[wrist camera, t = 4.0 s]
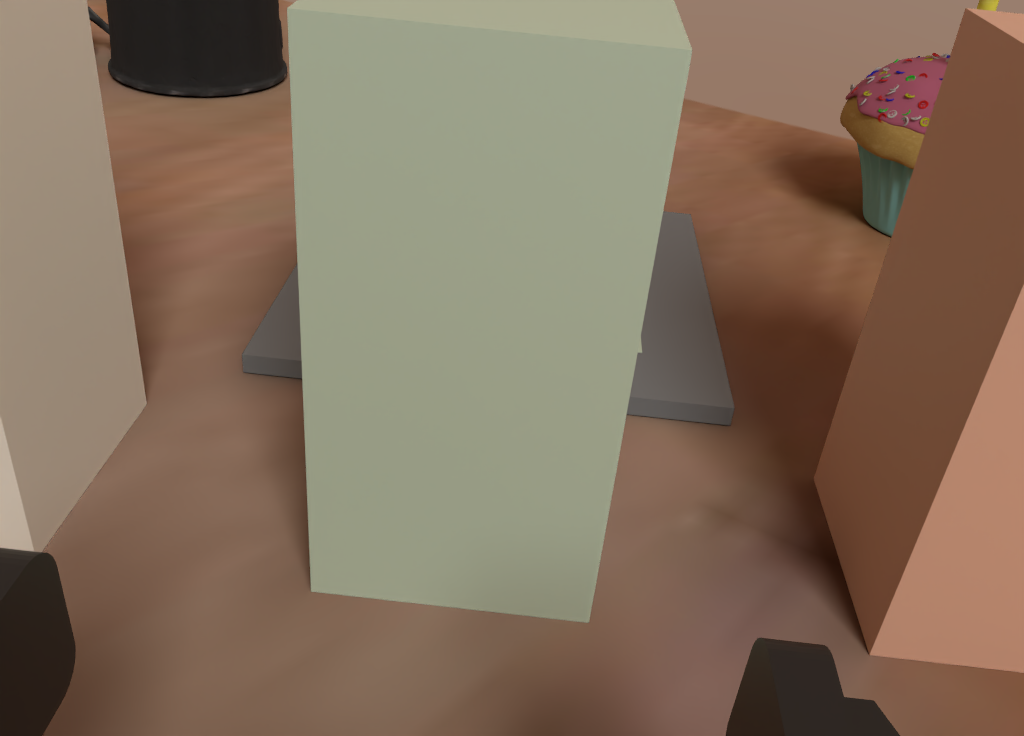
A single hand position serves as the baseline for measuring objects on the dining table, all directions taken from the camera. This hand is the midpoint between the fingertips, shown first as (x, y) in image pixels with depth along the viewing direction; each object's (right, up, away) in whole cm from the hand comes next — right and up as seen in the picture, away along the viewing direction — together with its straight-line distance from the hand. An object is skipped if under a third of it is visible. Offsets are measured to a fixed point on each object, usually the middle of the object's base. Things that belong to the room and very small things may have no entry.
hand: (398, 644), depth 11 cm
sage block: (0, 0, +12) cm, 12 cm away
